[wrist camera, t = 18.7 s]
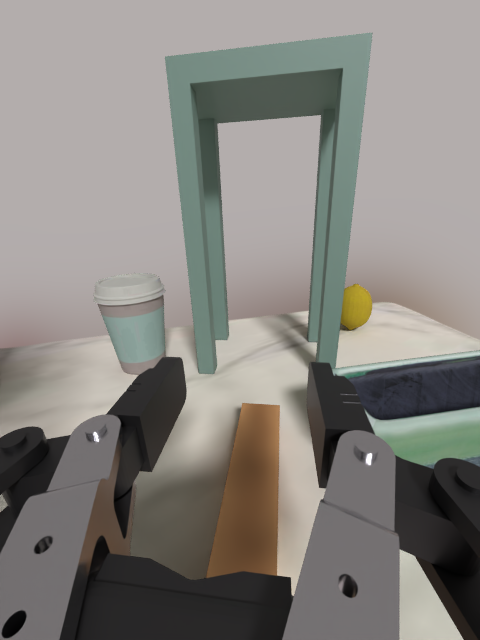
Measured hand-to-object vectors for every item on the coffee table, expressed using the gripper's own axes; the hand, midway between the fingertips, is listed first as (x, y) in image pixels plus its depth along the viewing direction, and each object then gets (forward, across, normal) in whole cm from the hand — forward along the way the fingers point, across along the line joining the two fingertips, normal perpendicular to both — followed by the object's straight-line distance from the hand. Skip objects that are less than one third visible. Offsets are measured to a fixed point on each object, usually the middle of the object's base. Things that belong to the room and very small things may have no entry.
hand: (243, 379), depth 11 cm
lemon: (+35, -14, +13) cm, 40 cm away
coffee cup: (+22, +17, +13) cm, 31 cm away
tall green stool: (+26, 0, +13) cm, 29 cm away
